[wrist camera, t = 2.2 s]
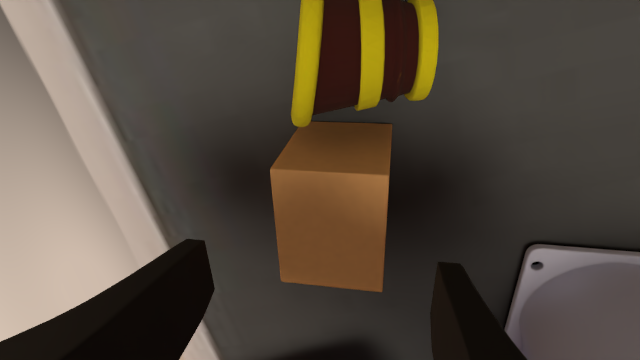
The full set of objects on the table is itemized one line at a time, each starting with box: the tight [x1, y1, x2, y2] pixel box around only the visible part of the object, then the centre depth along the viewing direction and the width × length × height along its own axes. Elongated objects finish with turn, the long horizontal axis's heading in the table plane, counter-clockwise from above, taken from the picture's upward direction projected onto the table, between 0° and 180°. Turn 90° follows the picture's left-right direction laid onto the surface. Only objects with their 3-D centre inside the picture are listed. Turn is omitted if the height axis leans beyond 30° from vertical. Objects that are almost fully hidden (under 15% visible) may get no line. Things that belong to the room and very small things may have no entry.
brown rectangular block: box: [270, 121, 392, 292], centre depth 16 cm, size 5×4×5 cm
